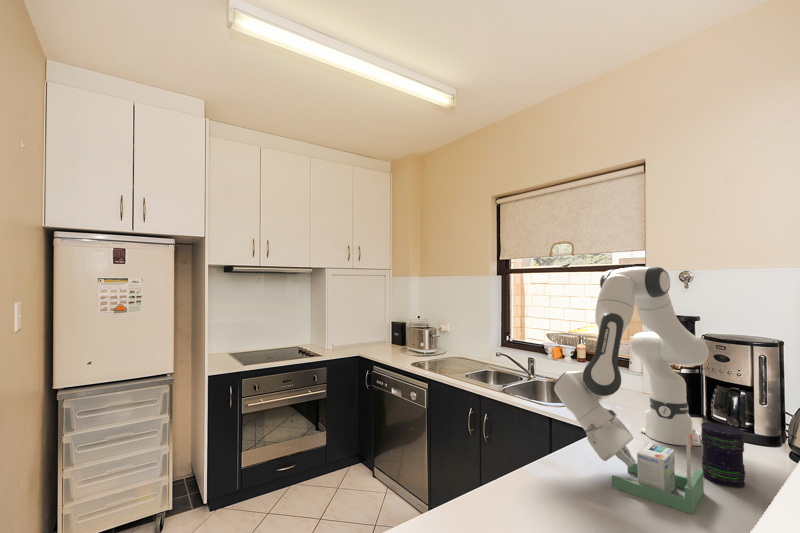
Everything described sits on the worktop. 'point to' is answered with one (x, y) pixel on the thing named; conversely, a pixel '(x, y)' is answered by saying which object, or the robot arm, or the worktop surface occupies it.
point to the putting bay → (687, 504)
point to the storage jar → (723, 455)
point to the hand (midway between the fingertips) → (632, 464)
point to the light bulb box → (656, 467)
